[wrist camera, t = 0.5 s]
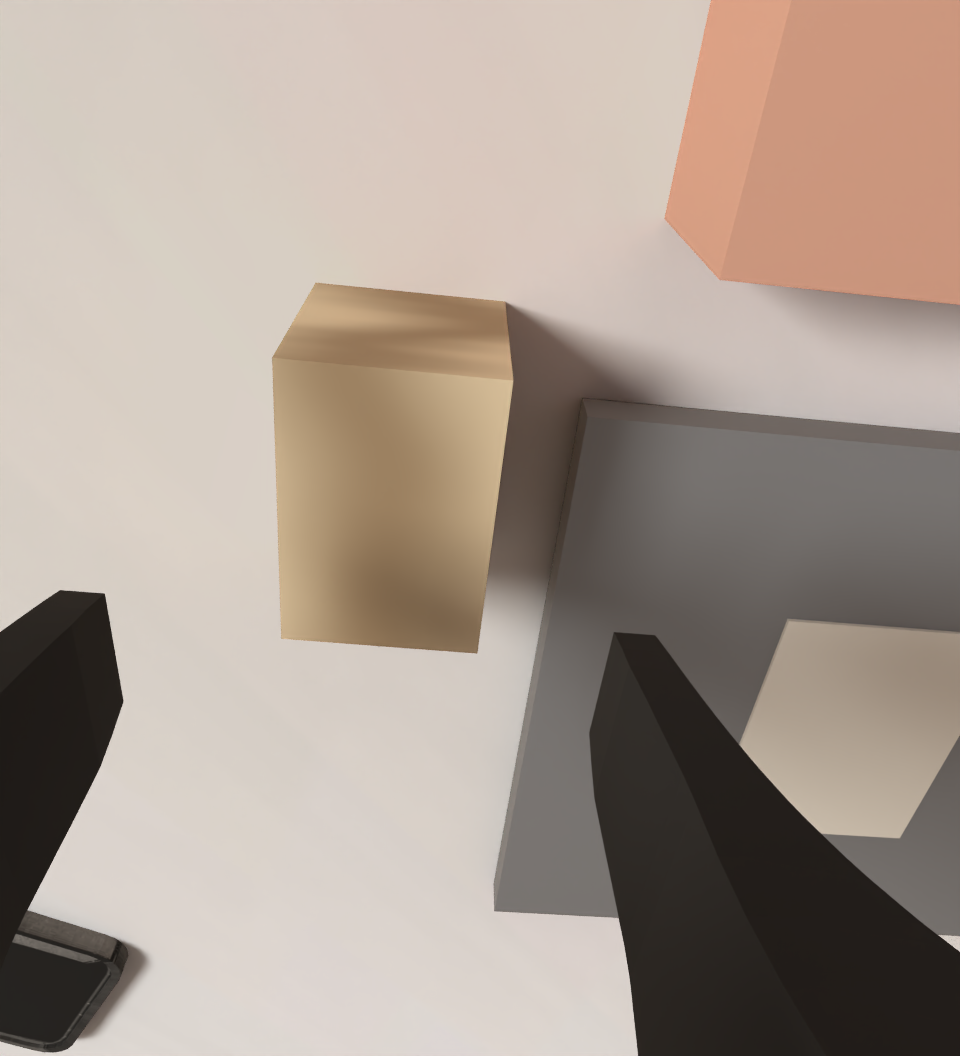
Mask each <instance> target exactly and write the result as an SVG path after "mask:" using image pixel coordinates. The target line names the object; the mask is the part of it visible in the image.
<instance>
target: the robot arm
mask: <svg viewBox="0 0 960 1056" xmlns="http://www.w3.org/2000/svg"><path fill="white" fill-rule="evenodd" d="M122 704H123V696H122V690H121V685H120V679H119V673H118V667H117V662H116V656H115V650H114V644H113V639H112V633H111V627H110V621H109V615H108V610H107V604H106V598H105V594H102V593H89V592H76V591H63V590H60V591H58V592H57V593H55V594H54V595H52V596H51V597H49V598H48V599H46V600H45V601H43V602H42V603H40V604H39V605H38V606H36V607H35V608H33V609H32V610H30V611H29V612H28V613H26V614H25V615H23V616H22V617H21V618H19V619H18V620H16V621H15V622H14V623H12V624H11V625H9V626H8V627H7V628H5V629H4V630H3V631H1V632H0V970H1V968H2V965H3V963H4V960H5V957H6V955H7V952H8V950H9V948H10V946H11V943H12V941H13V939H14V937H15V935H16V933H17V930H18V928H19V926H20V924H21V922H22V920H23V918H24V915H25V913H26V911H27V910H28V908H29V906H30V904H31V902H32V900H33V898H34V896H35V894H36V892H37V890H38V888H39V886H40V884H41V882H42V880H43V878H44V877H45V875H46V873H47V871H48V869H49V867H50V865H51V863H52V861H53V859H54V857H55V855H56V853H57V851H58V849H59V847H60V845H61V844H62V842H63V840H64V838H65V836H66V834H67V832H68V830H69V828H70V826H71V824H72V822H73V820H74V818H75V816H76V814H77V812H78V810H79V808H80V806H81V804H82V803H83V801H84V799H85V797H86V795H87V793H88V791H89V789H90V787H91V785H92V783H93V781H94V779H95V777H96V775H97V773H98V770H99V768H100V766H101V764H102V761H103V758H104V756H105V753H106V750H107V747H108V745H109V742H110V739H111V737H112V734H113V731H114V728H115V725H116V722H117V719H118V716H119V713H120V710H121V707H122ZM589 738H590V752H591V766H592V778H593V789H594V799H595V804H596V809H597V814H598V819H599V824H600V829H601V834H602V839H603V844H604V849H605V854H606V859H607V864H608V868H609V873H610V878H611V883H612V888H613V893H614V897H615V902H616V907H617V912H618V917H619V922H620V926H621V931H622V936H623V941H624V946H625V952H626V958H627V964H628V970H629V976H630V984H631V993H632V1002H633V1012H634V1021H635V1030H636V1039H637V1048H638V1056H960V952H959V951H958V950H956V949H955V948H954V947H953V946H951V945H950V944H949V943H947V942H946V941H945V940H944V939H942V938H941V937H940V936H938V935H937V934H936V933H935V932H933V931H932V930H931V929H929V928H928V927H927V926H926V925H924V924H923V923H922V922H921V921H919V920H918V919H917V918H916V917H914V916H913V915H912V914H911V913H910V912H909V911H907V910H906V909H905V908H904V907H903V906H901V905H900V904H899V903H898V902H897V901H895V900H894V899H893V898H892V897H891V896H889V895H888V894H887V893H886V892H885V891H884V890H882V889H881V888H880V887H879V886H878V885H876V884H875V883H874V882H873V881H872V880H871V879H869V878H868V877H867V876H866V875H865V874H864V873H863V872H862V871H860V870H859V869H858V868H857V867H856V866H855V865H854V864H853V863H852V862H850V861H849V860H848V859H847V858H846V857H845V856H844V855H843V854H842V853H841V852H840V851H839V850H838V849H837V848H836V847H835V846H834V845H833V844H831V843H830V842H829V841H828V840H827V839H826V838H825V837H824V836H823V835H822V834H821V833H820V832H819V831H818V830H817V829H816V828H815V827H814V826H813V825H812V824H811V823H810V822H809V821H808V820H807V819H806V818H805V817H804V816H803V815H802V814H801V813H800V812H799V811H798V810H797V809H796V808H795V807H794V806H793V805H792V804H791V803H790V802H789V801H788V800H787V799H786V798H785V796H784V795H783V794H782V793H781V792H780V791H779V790H778V789H777V788H776V787H775V785H774V784H773V783H772V782H771V781H770V780H769V779H768V778H767V777H766V776H765V774H764V773H763V772H762V771H761V770H760V769H759V768H758V767H757V765H756V764H755V763H754V762H753V761H752V759H751V758H750V757H749V756H748V755H747V754H746V752H745V751H744V750H743V749H742V747H741V746H740V745H739V744H738V743H737V741H736V740H735V739H734V738H733V736H732V735H731V734H730V733H729V731H728V730H727V729H726V728H725V727H724V725H723V724H722V723H721V722H720V720H719V719H718V718H717V717H716V715H715V714H714V713H713V711H712V710H711V709H710V707H709V706H708V705H707V704H706V702H705V701H704V700H703V698H702V697H701V696H700V694H699V693H698V692H697V690H696V689H695V688H694V686H693V685H692V684H691V682H690V681H689V680H688V678H687V677H686V676H685V674H684V673H683V672H682V670H681V669H680V667H679V666H678V665H677V663H676V662H675V661H674V659H673V658H672V657H671V655H670V654H669V652H668V651H667V650H666V648H665V647H664V646H663V644H662V643H661V642H660V641H659V639H658V638H657V637H656V635H646V634H633V633H620V632H614V633H613V637H612V641H611V646H610V650H609V654H608V658H607V662H606V666H605V670H604V674H603V678H602V682H601V686H600V690H599V695H598V699H597V703H596V707H595V711H594V715H593V719H592V723H591V727H590V731H589Z"/></svg>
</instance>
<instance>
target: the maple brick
mask: <svg viewBox="0 0 960 1056" xmlns="http://www.w3.org/2000/svg"><path fill="white" fill-rule="evenodd" d="M272 365H273V396H274V427H275V458H276V488H277V519H278V550H279V580H280V611H281V639H293V640H306V641H320V642H333V643H346V644H359V645H373V646H386V647H399V648H412V649H426V650H439V651H452V652H465V653H477V651H478V644H479V636H480V629H481V621H482V614H483V606H484V599H485V591H486V584H487V576H488V568H489V561H490V553H491V546H492V538H493V531H494V523H495V516H496V508H497V501H498V493H499V485H500V478H501V470H502V463H503V455H504V448H505V440H506V433H507V425H508V418H509V410H510V402H511V395H512V387H513V372H512V362H511V353H510V343H509V333H508V324H507V314H506V304H505V302H503V301H493V300H483V299H473V298H463V297H453V296H443V295H433V294H423V293H413V292H403V291H393V290H383V289H373V288H363V287H353V286H343V285H333V284H323V283H315V285H314V287H313V288H312V290H311V292H310V294H309V295H308V297H307V299H306V300H305V302H304V304H303V306H302V307H301V309H300V311H299V312H298V314H297V316H296V318H295V319H294V321H293V323H292V325H291V326H290V328H289V330H288V331H287V333H286V335H285V337H284V338H283V340H282V342H281V344H280V345H279V347H278V349H277V350H276V352H275V354H274V356H273V357H272Z"/></svg>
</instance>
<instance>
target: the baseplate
mask: <svg viewBox="0 0 960 1056" xmlns="http://www.w3.org/2000/svg"><path fill="white" fill-rule="evenodd" d="M614 632H620V633H633V634H646V635H656V637H657V638H658V639H659V641H660V642H661V643H662V644H663V646H664V647H665V648H666V650H667V651H668V652H669V654H670V655H671V657H672V658H673V659H674V661H675V662H676V663H677V665H678V666H679V667H680V669H681V670H682V672H683V673H684V674H685V676H686V677H687V678H688V680H689V681H690V682H691V684H692V685H693V686H694V688H695V689H696V690H697V692H698V693H699V694H700V696H701V697H702V698H703V700H704V701H705V702H706V704H707V705H708V706H709V707H710V709H711V710H712V711H713V713H714V714H715V715H716V717H717V718H718V719H719V720H720V722H721V723H722V724H723V725H724V727H725V728H726V729H727V730H728V731H729V733H730V734H731V735H732V736H733V738H734V739H735V740H736V741H737V743H738V744H739V745H740V746H741V747H742V749H743V750H744V751H745V752H746V754H747V755H748V756H749V757H750V758H751V759H752V761H753V762H754V763H755V764H756V765H757V767H758V768H759V769H760V770H761V771H762V772H763V773H764V774H765V776H766V777H767V778H768V779H769V780H770V781H771V782H772V783H773V784H774V785H775V787H776V788H777V789H778V790H779V791H780V792H781V793H782V794H783V795H784V796H785V798H786V799H787V800H788V801H789V802H790V803H791V804H792V805H793V806H794V807H795V808H796V809H797V810H798V811H799V812H800V813H801V814H802V815H803V816H804V817H805V818H806V819H807V820H808V821H809V822H810V823H811V824H812V825H813V826H814V827H815V828H816V829H817V830H818V831H819V832H820V833H821V834H822V835H823V836H824V837H825V838H826V839H827V840H828V841H829V842H830V843H831V844H833V845H834V846H835V847H836V848H837V849H838V850H839V851H840V852H841V853H842V854H843V855H844V856H845V857H846V858H847V859H848V860H849V861H850V862H852V863H853V864H854V865H855V866H856V867H857V868H858V869H859V870H860V871H862V872H863V873H864V874H865V875H866V876H867V877H868V878H869V879H871V880H872V881H873V882H874V883H875V884H876V885H878V886H879V887H880V888H881V889H882V890H884V891H885V892H886V893H887V894H888V895H889V896H891V897H892V898H893V899H894V900H895V901H897V902H898V903H899V904H900V905H901V906H903V907H904V908H905V909H906V910H907V911H909V912H910V913H911V914H912V915H913V916H914V917H916V918H917V919H918V920H919V921H921V922H922V923H923V924H924V925H926V926H927V927H928V928H929V929H931V930H932V931H933V932H935V933H936V934H937V935H951V936H960V433H950V432H939V431H929V430H918V429H907V428H896V427H886V426H875V425H864V424H853V423H843V422H832V421H821V420H810V419H800V418H789V417H778V416H768V415H757V414H746V413H735V412H725V411H714V410H703V409H692V408H682V407H671V406H660V405H649V404H639V403H628V402H617V401H606V400H596V399H585V398H582V404H581V409H580V414H579V420H578V425H577V431H576V436H575V442H574V447H573V453H572V458H571V464H570V469H569V475H568V480H567V486H566V491H565V497H564V502H563V508H562V513H561V518H560V524H559V529H558V535H557V540H556V546H555V551H554V557H553V562H552V568H551V573H550V579H549V584H548V590H547V595H546V601H545V606H544V612H543V617H542V622H541V628H540V633H539V639H538V644H537V650H536V655H535V661H534V666H533V672H532V677H531V683H530V688H529V694H528V699H527V705H526V710H525V716H524V721H523V727H522V732H521V737H520V743H519V748H518V754H517V759H516V765H515V770H514V776H513V781H512V787H511V792H510V798H509V803H508V809H507V814H506V820H505V825H504V831H503V836H502V841H501V847H500V852H499V858H498V863H497V869H496V874H495V880H494V911H500V912H519V913H538V914H557V915H576V916H594V917H613V918H619V917H618V912H617V907H616V902H615V897H614V893H613V888H612V883H611V878H610V873H609V868H608V864H607V859H606V854H605V849H604V844H603V839H602V834H601V829H600V824H599V819H598V814H597V809H596V804H595V799H594V789H593V778H592V766H591V752H590V738H589V731H590V727H591V723H592V719H593V715H594V711H595V707H596V703H597V699H598V695H599V690H600V686H601V682H602V678H603V674H604V670H605V666H606V662H607V658H608V654H609V650H610V646H611V641H612V637H613V633H614Z"/></svg>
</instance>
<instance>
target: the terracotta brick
mask: <svg viewBox="0 0 960 1056" xmlns="http://www.w3.org/2000/svg"><path fill="white" fill-rule="evenodd" d="M664 219H665V220H666V221H667V222H668V223H669V224H670V225H671V227H672V228H673V229H674V230H675V231H676V232H677V233H678V234H679V235H680V237H681V238H682V239H683V240H684V241H685V242H686V243H687V244H688V245H689V246H690V248H691V249H692V250H693V251H694V252H695V253H696V254H697V255H698V256H699V258H700V259H701V260H702V261H703V262H704V263H705V264H706V265H707V266H708V268H709V269H710V270H711V271H712V272H713V273H714V274H715V275H716V276H717V278H718V279H719V280H727V281H736V282H746V283H755V284H765V285H775V286H784V287H794V288H804V289H813V290H823V291H832V292H842V293H852V294H861V295H871V296H880V297H890V298H900V299H909V300H919V301H929V302H938V303H948V304H957V305H960V0H711V3H710V7H709V12H708V17H707V22H706V26H705V31H704V36H703V40H702V45H701V50H700V54H699V59H698V64H697V68H696V73H695V78H694V82H693V87H692V92H691V97H690V101H689V106H688V111H687V115H686V120H685V125H684V129H683V134H682V139H681V143H680V148H679V153H678V157H677V162H676V167H675V172H674V176H673V181H672V186H671V190H670V195H669V200H668V204H667V209H666V214H665V218H664Z"/></svg>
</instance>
